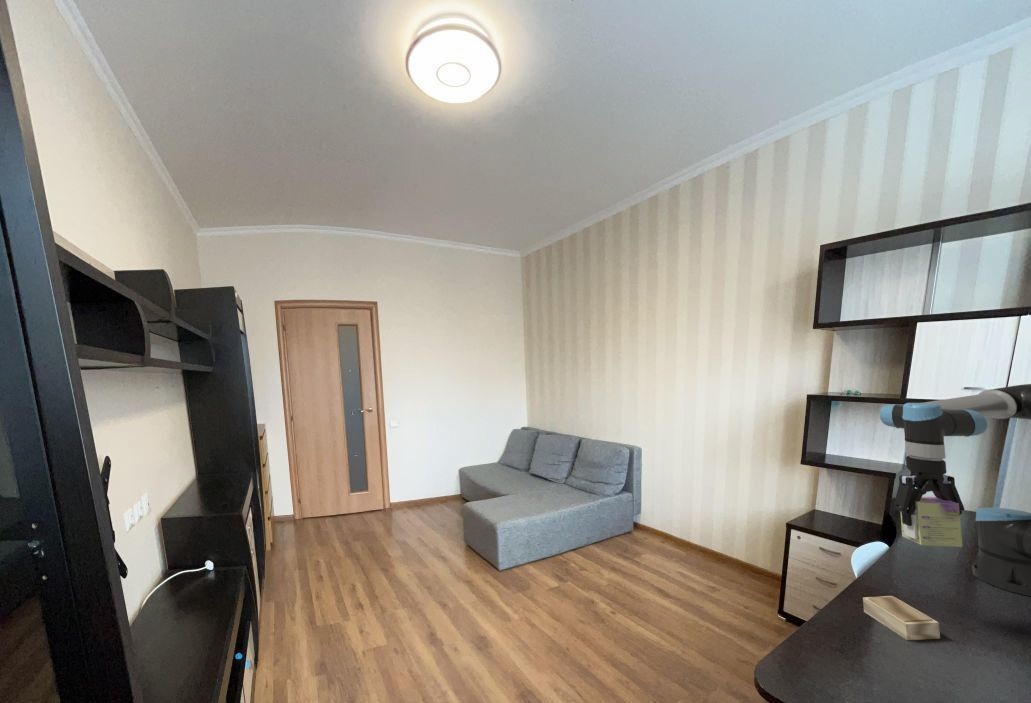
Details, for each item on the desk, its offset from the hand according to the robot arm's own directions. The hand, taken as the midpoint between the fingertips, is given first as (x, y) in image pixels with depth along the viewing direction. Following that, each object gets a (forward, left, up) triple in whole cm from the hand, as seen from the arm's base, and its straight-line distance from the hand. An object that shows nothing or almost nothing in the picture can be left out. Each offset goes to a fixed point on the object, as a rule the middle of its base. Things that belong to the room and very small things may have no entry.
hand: (930, 536), depth 101 cm
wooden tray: (+12, +1, -23) cm, 26 cm away
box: (0, 0, -2) cm, 2 cm away
